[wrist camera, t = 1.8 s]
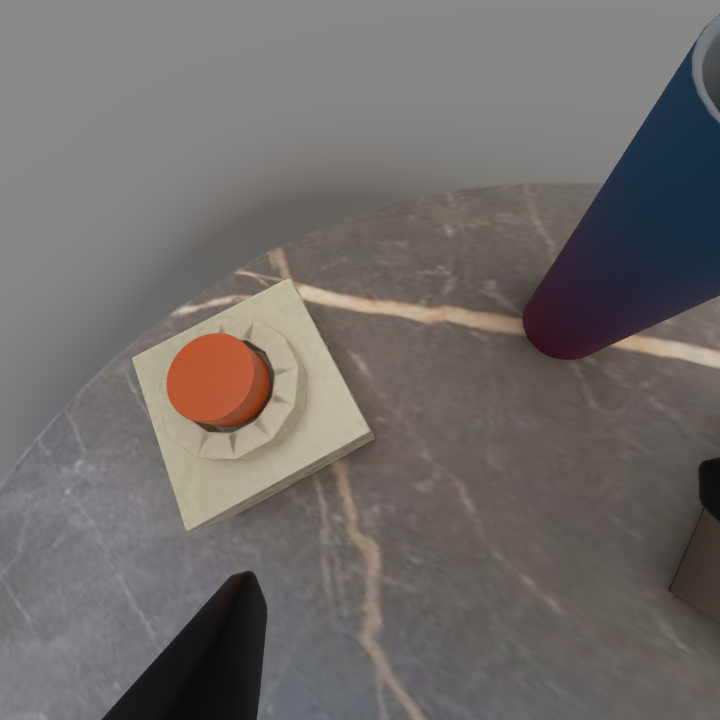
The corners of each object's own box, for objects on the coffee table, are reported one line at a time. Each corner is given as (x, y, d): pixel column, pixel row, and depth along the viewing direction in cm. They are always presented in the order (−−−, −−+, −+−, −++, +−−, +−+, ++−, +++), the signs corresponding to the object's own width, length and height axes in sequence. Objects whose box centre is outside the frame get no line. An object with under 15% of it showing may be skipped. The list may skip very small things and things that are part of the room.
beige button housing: (375, 438, 22) (368, 427, 15) (230, 518, 21) (161, 539, 15) (308, 311, 25) (279, 259, 18) (180, 378, 24) (105, 346, 18)
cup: (487, 329, 23) (638, 102, 9) (546, 258, 24) (768, -47, 10) (581, 395, 21) (968, 245, 7) (641, 316, 22) (1083, 43, 8)
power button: (283, 402, 16) (268, 393, 15) (207, 442, 16) (181, 439, 14) (252, 333, 18) (235, 317, 16) (181, 370, 18) (154, 358, 16)
